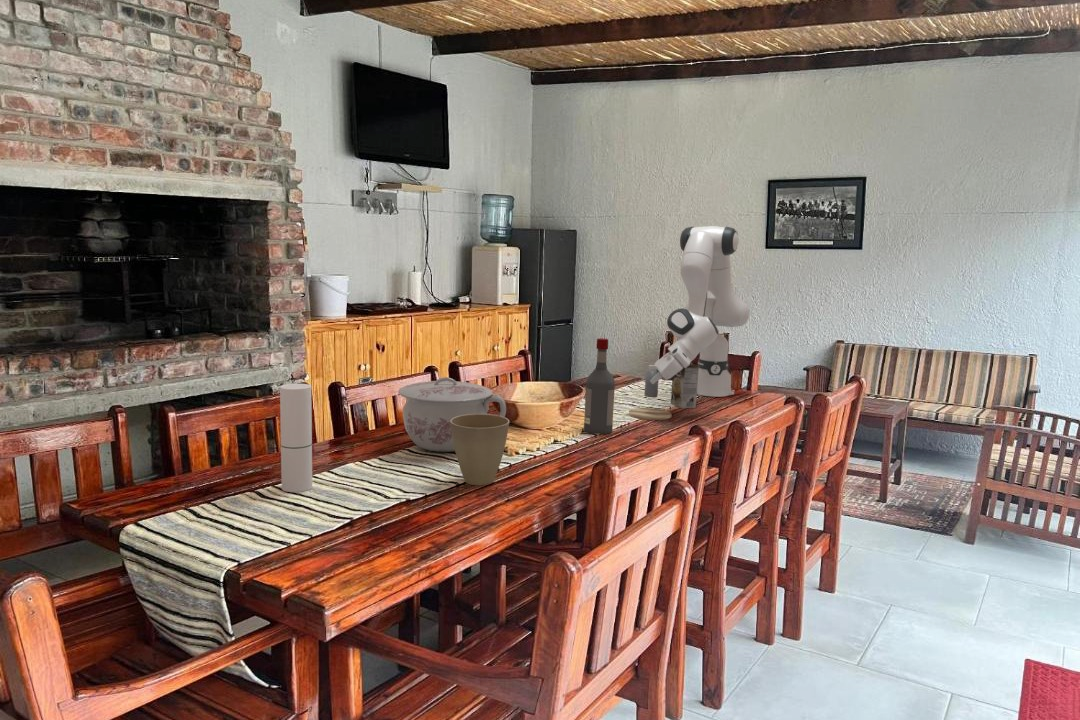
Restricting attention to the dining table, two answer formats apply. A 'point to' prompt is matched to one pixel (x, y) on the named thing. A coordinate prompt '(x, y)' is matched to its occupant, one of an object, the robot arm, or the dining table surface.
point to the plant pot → (479, 445)
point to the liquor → (599, 395)
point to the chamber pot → (442, 409)
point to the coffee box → (685, 387)
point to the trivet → (650, 414)
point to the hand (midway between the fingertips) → (650, 381)
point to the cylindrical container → (296, 437)
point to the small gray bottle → (650, 388)
